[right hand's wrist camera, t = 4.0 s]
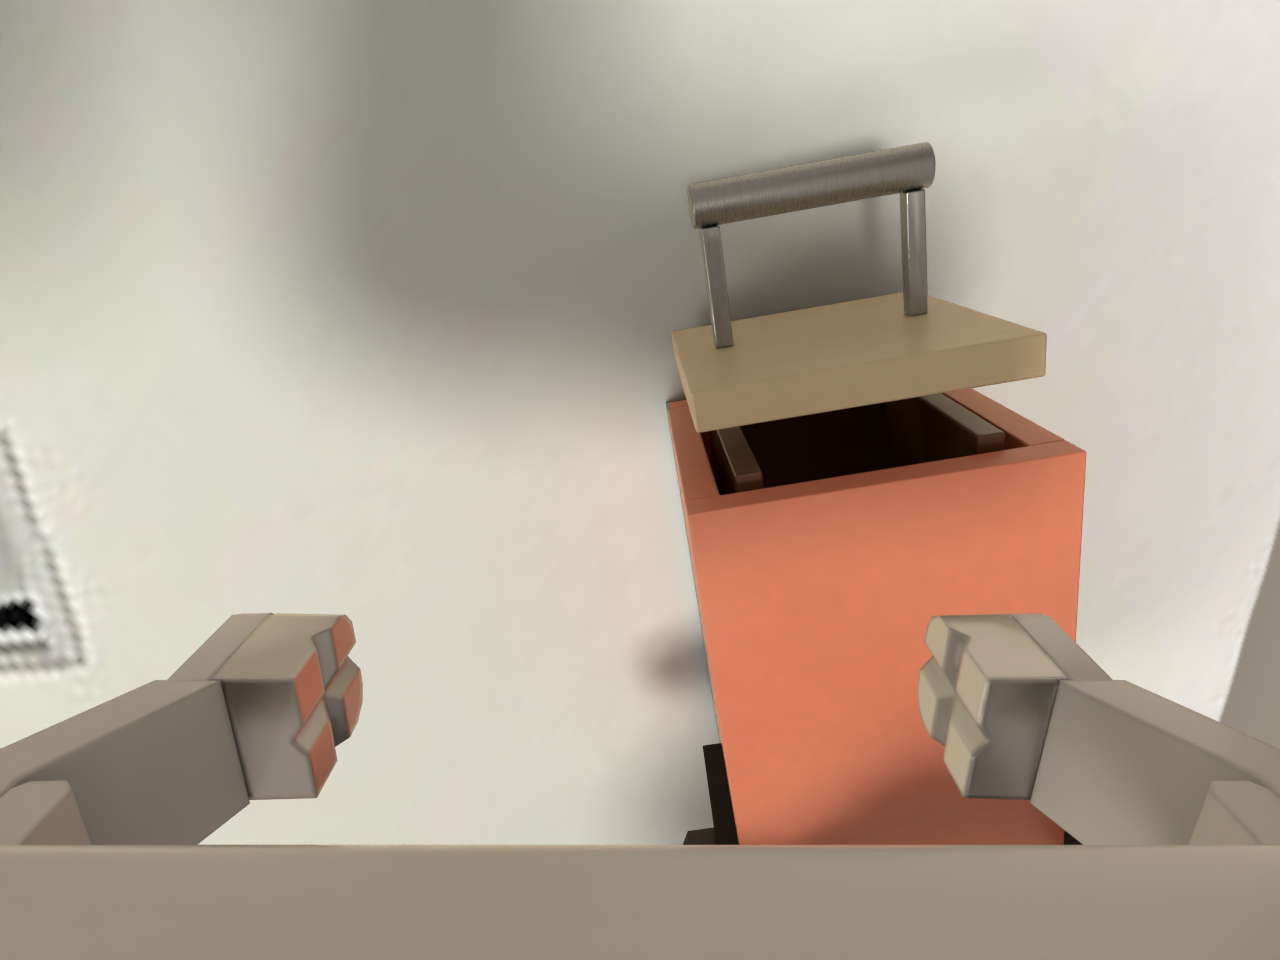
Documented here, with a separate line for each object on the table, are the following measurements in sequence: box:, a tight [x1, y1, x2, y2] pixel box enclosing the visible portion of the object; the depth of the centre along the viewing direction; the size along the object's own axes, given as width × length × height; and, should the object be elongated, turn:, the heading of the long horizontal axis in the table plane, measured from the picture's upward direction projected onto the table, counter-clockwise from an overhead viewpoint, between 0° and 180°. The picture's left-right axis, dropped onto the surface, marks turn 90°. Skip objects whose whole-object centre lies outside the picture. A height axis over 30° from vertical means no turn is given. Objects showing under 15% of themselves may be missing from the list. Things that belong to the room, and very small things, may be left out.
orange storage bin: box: [666, 388, 1086, 845], centre depth 28 cm, size 18×11×12 cm, turn 9°
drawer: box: [671, 142, 1047, 495], centre depth 26 cm, size 21×10×10 cm, turn 9°
